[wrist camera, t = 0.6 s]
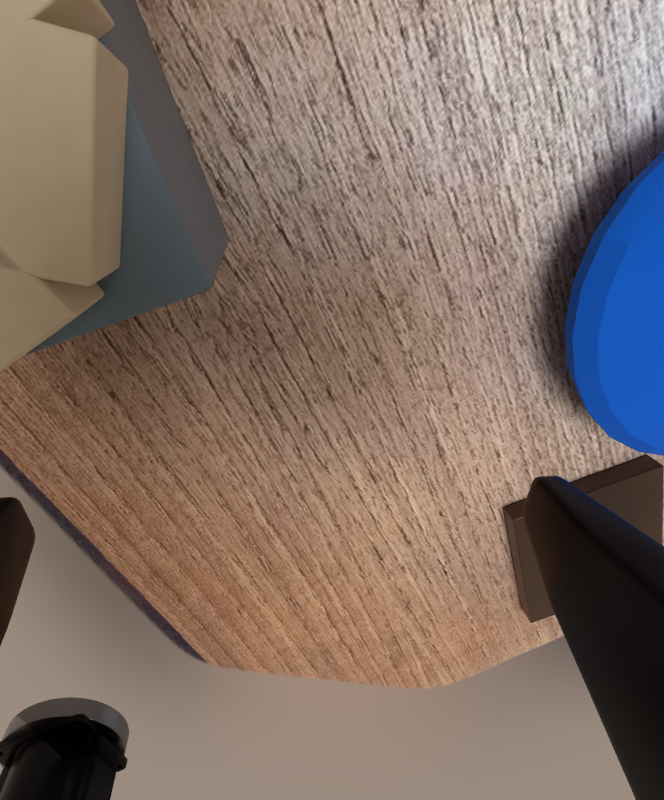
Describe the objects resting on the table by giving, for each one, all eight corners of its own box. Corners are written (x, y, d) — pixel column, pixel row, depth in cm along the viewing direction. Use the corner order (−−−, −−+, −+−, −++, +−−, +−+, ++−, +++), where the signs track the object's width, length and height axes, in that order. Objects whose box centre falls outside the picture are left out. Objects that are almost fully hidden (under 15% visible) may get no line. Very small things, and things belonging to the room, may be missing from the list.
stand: (521, 608, 31) (580, 700, 26) (502, 507, 27) (567, 590, 22) (648, 562, 31) (734, 643, 26) (647, 454, 27) (749, 523, 22)
